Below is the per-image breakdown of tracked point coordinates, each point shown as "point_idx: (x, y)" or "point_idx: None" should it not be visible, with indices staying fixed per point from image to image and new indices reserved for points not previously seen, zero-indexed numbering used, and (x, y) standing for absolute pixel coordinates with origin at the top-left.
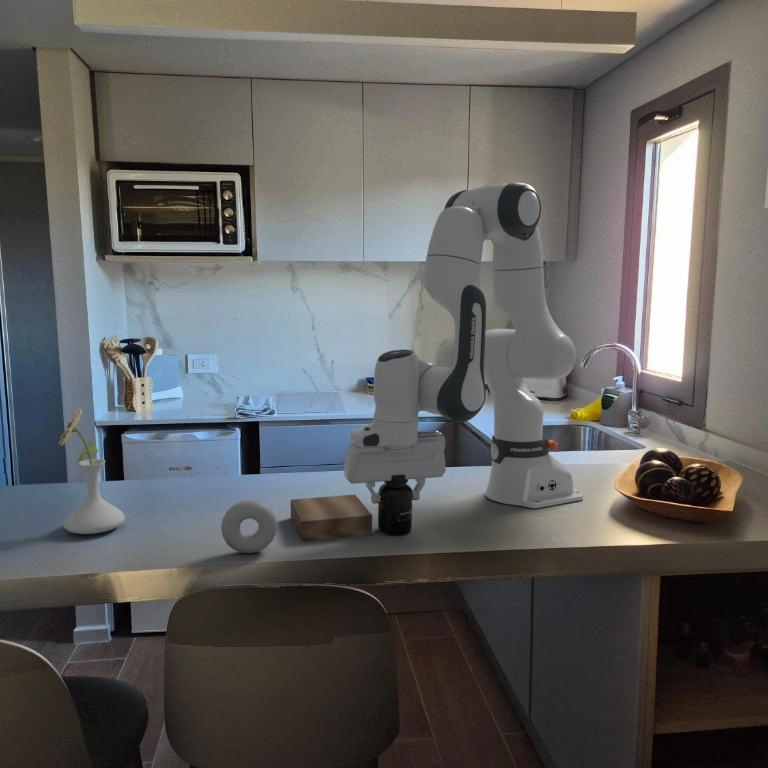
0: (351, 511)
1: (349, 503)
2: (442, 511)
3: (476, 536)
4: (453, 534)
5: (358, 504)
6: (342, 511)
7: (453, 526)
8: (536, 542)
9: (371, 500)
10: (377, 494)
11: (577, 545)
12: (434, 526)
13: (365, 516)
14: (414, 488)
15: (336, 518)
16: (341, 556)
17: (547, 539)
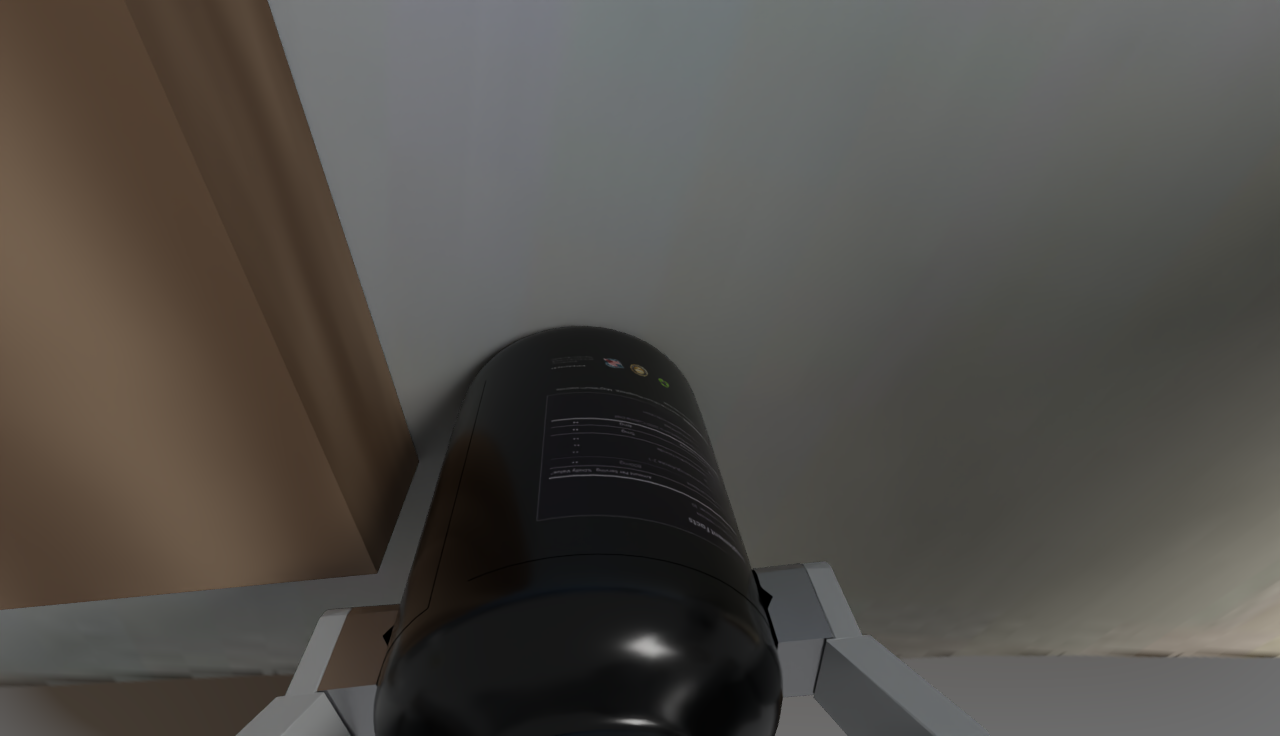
0: (161, 486)
1: (56, 248)
2: (1151, 59)
3: (990, 542)
4: (899, 509)
5: (196, 304)
6: (60, 480)
7: (980, 406)
8: (1167, 614)
9: (325, 623)
10: (368, 728)
11: (1269, 645)
12: (868, 389)
13: (320, 574)
14: (835, 655)
15: (62, 602)
16: (256, 662)
17: (1238, 596)
